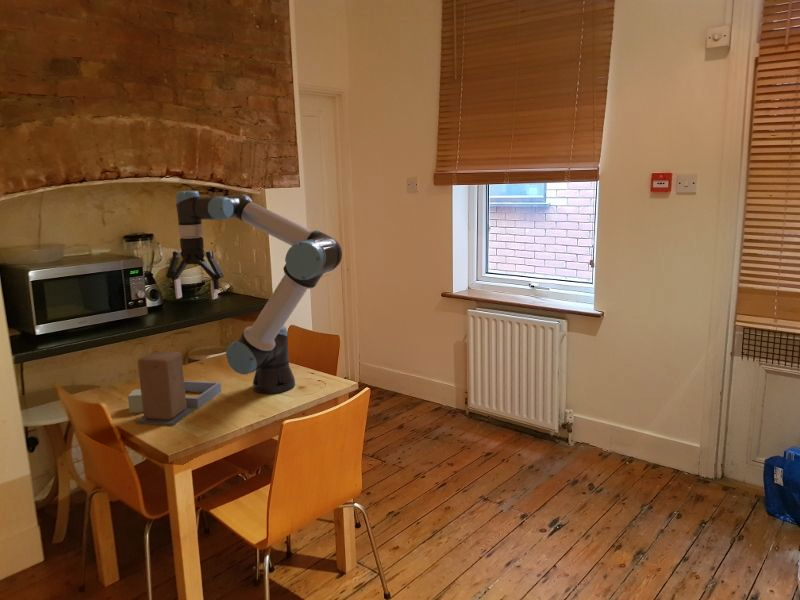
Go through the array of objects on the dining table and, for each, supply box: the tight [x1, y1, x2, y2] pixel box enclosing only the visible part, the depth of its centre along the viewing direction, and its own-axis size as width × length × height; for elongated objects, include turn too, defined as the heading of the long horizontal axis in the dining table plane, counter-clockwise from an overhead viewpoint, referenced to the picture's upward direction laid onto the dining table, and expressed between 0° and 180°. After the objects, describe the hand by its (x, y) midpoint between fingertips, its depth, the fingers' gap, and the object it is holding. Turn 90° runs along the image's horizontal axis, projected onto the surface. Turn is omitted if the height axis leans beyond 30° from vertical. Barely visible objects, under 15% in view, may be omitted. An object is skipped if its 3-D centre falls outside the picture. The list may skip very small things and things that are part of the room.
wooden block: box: [137, 350, 187, 420], centre depth 197 cm, size 10×10×20 cm
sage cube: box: [127, 388, 143, 414], centre depth 206 cm, size 6×6×6 cm
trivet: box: [135, 407, 196, 427], centre depth 200 cm, size 13×13×1 cm
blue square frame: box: [184, 380, 222, 409], centre depth 215 cm, size 16×16×4 cm
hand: (196, 298), depth 213 cm, fingers open, 13 cm apart
